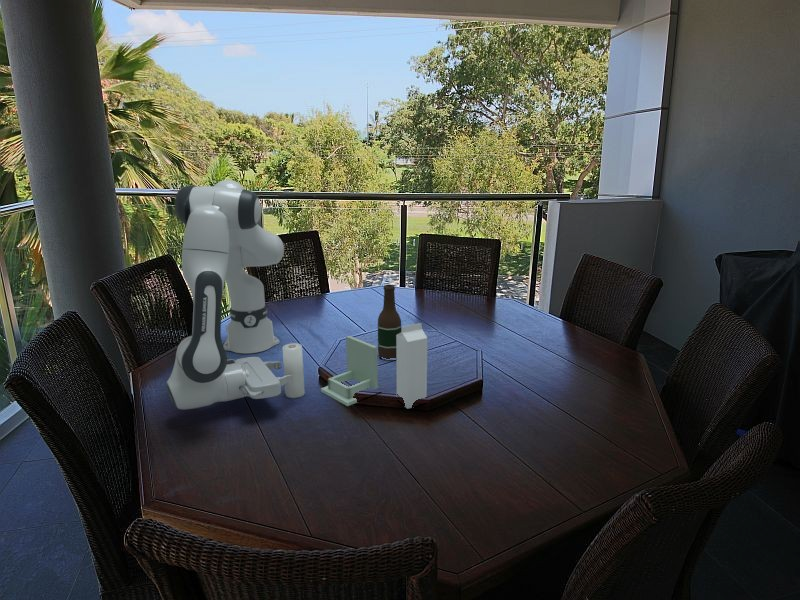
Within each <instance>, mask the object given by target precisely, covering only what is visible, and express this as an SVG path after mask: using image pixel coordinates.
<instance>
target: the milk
mask: <svg viewBox="0 0 800 600" xmlns="http://www.w3.org/2000/svg"><path fill="white" fill-rule="evenodd" d="M422 325H423V324H422V323H421V322H420V323H419V322H418V323H414V324H409V325H404V326H401V333H399V334H397V335H396V360H395V361H396V395H397V394H398V395H399V396H400V397H402V398H403V400H404V403H405V406H404V408H406V409H407V410H408V409H412V405H413V403H414V402H415V401H416V400H418V399H421V398H425V397H427V396H428V395H427V394H428V393H427V392H428V391H427V389H428V386H427V384H428V337H427V335H426V333H425V332H424V330H423V327H422ZM427 398H428V397H427Z"/></svg>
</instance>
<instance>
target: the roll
mask: <svg viewBox="0 0 800 600" xmlns="http://www.w3.org/2000/svg"><path fill="white" fill-rule="evenodd" d="M282 361H283V374H284V375H283V376H285V374H289V373H290V374H292V375H293V381H291V382H287V383H286V384H284V391H285V392H284V393H285V397H287V398H289V399H290V398H291V399H296V398H301V397H303V396H304V395H305V376H304V375H305V374H304V362H303V361H304V359H303V346H302V344H301V343H295V342H294V343H293V342H292V343H287V344H284V345H283V346H282Z"/></svg>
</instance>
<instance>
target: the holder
mask: <svg viewBox="0 0 800 600" xmlns="http://www.w3.org/2000/svg"><path fill="white" fill-rule="evenodd" d="M345 340H346V344H345V345H346V368H347V369H346V370H347V371H345V372H343V373H340V374H337V375H334V376H332V377H329V378H327V385H326V386H324V387H321V388H320V392H321V393H323V394H325V395H326V396H328V397H329V398H331V399H334V400H335V401H337V402H338V403H341V404H342V405H345V406H346V407H349V406H352V405H354V404H358V402H357V399H356V398H353V396H354V394H355V393H356V392H359V391H361V390H365V389H367V388H370V387H372V388H374V389H376V388H379V382H378V381H379V379H378V376H379V375H378V374H379V373H378V372H379V371H378V345H373V344H371V343H368V342H366V341H363V340H361V339H359V338H356V337H354V336H352V335H347V336H345ZM351 379H355V380H357V381H359V382H360V383H357V384H355V385H352V386H349V387H348V386H346V385H344V384H342V383H341V382H343V381H348V380H351Z"/></svg>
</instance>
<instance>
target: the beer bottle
mask: <svg viewBox="0 0 800 600" xmlns="http://www.w3.org/2000/svg"><path fill="white" fill-rule="evenodd" d="M383 290H384V291H383V307H382V310H381V312H380V313H379V315H378V318H377V355H378V354H379V355H378V357H379V356H380V357H383V358H386V359H390V358H396V335H397V334H399V333H401V332H402V319H401V317H400V314H399V312H398V311H397V309H396V297H395V290H396V286H395V285H393V284H386V285H383ZM380 357H379V358H380Z"/></svg>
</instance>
